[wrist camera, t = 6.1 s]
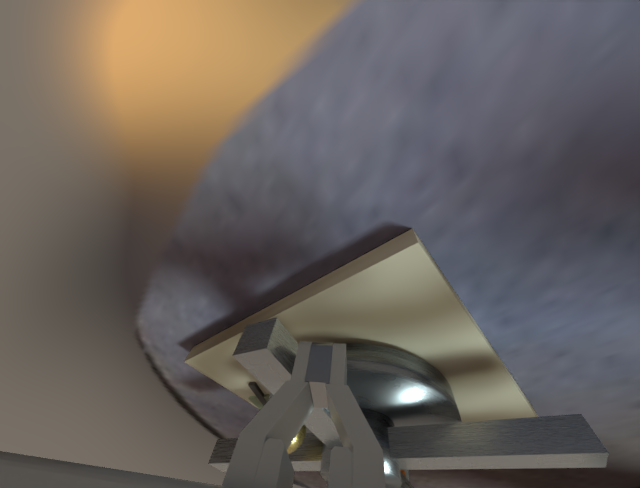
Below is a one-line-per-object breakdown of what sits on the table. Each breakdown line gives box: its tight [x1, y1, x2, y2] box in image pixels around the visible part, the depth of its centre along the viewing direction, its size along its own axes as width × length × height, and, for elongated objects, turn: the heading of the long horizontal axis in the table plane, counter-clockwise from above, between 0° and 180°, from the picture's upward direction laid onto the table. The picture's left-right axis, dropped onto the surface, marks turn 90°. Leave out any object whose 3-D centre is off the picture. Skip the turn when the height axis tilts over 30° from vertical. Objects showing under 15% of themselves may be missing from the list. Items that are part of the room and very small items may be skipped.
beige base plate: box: [184, 228, 538, 422], centre depth 17 cm, size 18×18×1 cm
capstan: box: [208, 317, 609, 488], centre depth 15 cm, size 17×17×4 cm
